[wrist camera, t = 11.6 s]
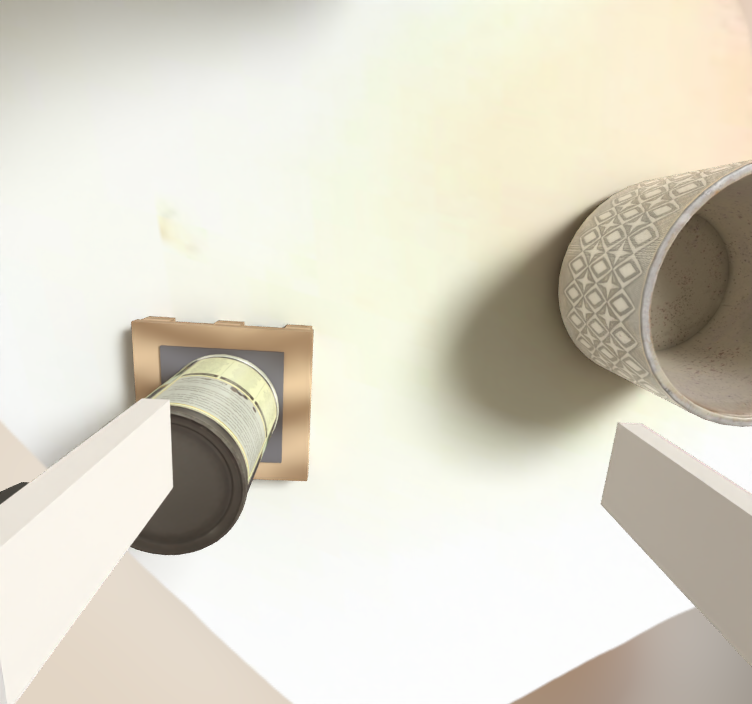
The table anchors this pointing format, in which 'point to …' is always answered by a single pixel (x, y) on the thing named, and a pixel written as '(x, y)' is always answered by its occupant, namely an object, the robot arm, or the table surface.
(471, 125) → the table surface
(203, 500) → the coffee can
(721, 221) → the planter
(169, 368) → the dock
